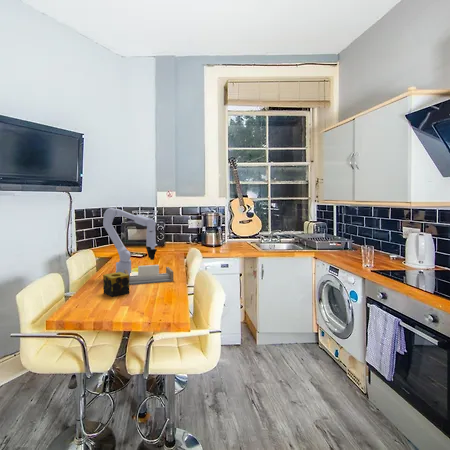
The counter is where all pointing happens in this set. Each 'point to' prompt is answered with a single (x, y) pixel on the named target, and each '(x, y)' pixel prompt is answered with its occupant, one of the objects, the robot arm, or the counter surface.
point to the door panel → (148, 270)
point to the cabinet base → (151, 278)
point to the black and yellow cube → (116, 284)
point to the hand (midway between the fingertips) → (151, 258)
